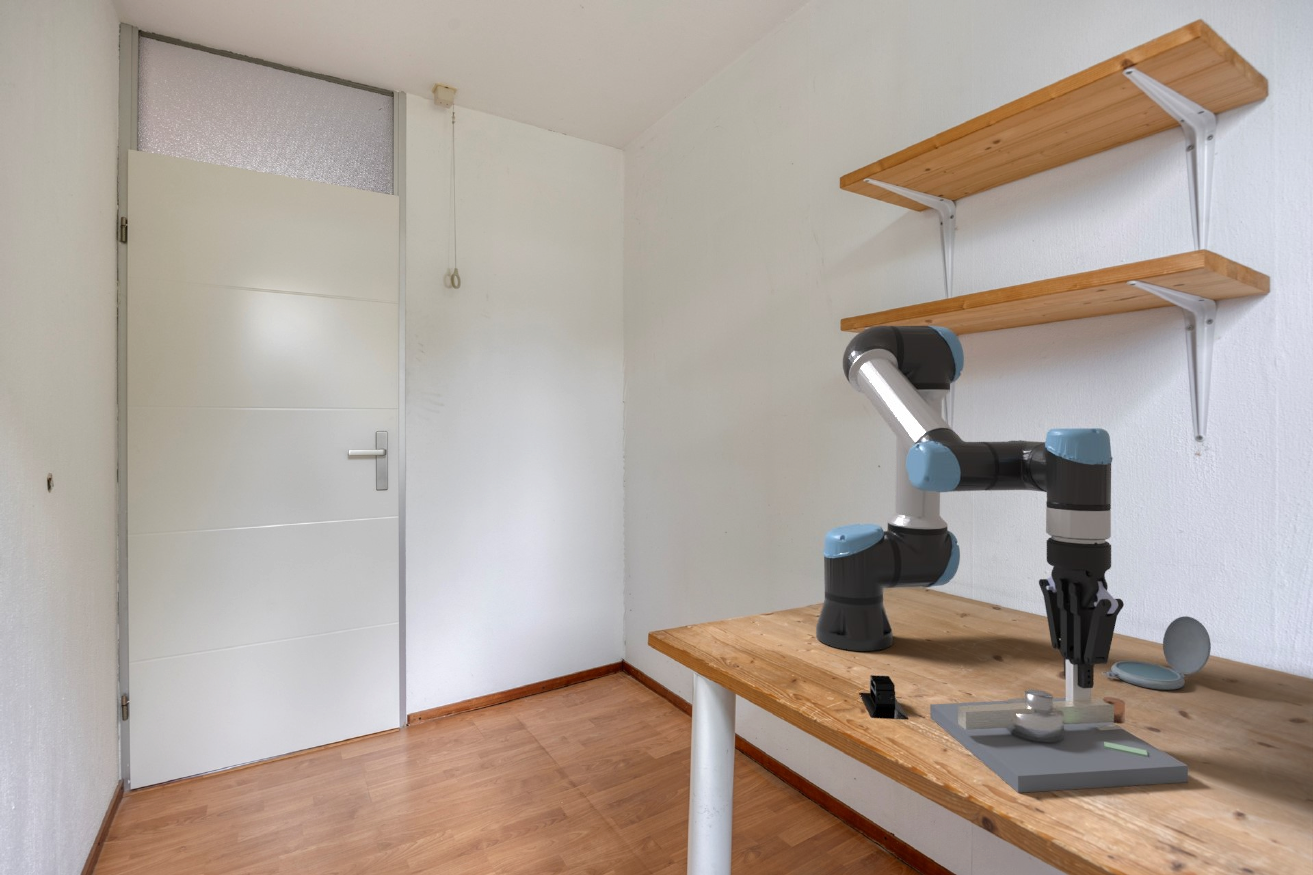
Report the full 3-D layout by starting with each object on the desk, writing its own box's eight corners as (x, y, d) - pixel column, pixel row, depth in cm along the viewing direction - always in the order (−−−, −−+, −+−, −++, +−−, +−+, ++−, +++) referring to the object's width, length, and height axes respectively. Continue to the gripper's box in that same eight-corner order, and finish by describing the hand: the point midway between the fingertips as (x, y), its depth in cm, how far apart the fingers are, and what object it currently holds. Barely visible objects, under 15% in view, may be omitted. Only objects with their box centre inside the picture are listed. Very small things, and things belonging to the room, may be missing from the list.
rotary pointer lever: (947, 721, 89) (947, 687, 89) (1102, 713, 91) (1101, 680, 91) (977, 746, 82) (977, 709, 82) (1143, 736, 84) (1143, 700, 84)
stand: (930, 717, 95) (930, 702, 95) (1067, 710, 97) (1067, 696, 97) (1018, 792, 75) (1018, 773, 75) (1187, 781, 77) (1187, 763, 77)
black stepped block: (851, 691, 106) (851, 664, 106) (896, 693, 106) (896, 666, 106) (868, 725, 94) (867, 695, 94) (919, 727, 93) (918, 697, 93)
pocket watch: (1218, 626, 104) (1123, 625, 105) (1218, 692, 104) (1123, 691, 105) (1172, 609, 114) (1085, 608, 115) (1172, 670, 114) (1085, 668, 115)
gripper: (1142, 546, 82) (1143, 727, 82) (1068, 530, 95) (1069, 687, 95) (1088, 547, 81) (1089, 730, 82) (1021, 532, 94) (1022, 689, 95)
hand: (1078, 707), depth 88 cm, fingers closed
